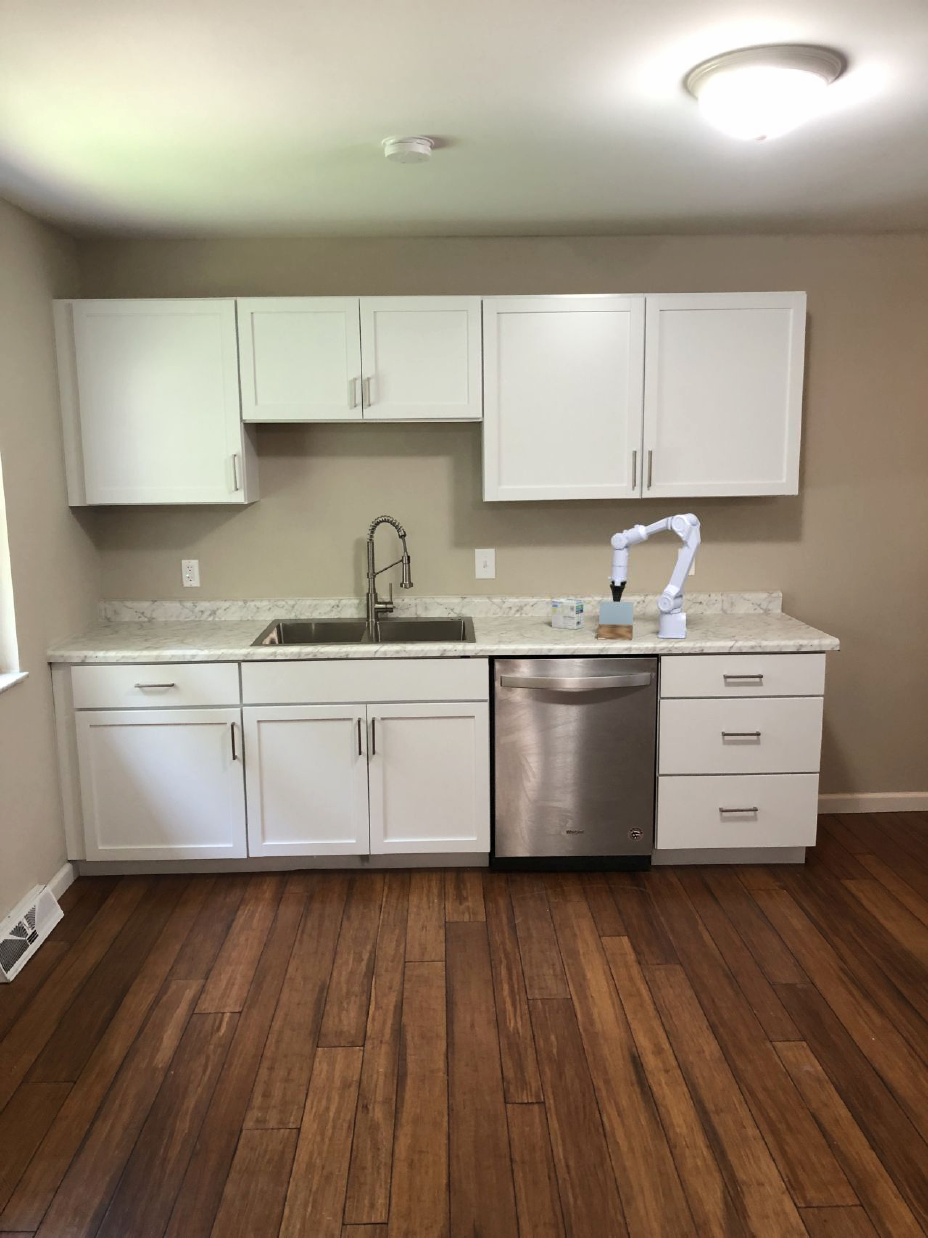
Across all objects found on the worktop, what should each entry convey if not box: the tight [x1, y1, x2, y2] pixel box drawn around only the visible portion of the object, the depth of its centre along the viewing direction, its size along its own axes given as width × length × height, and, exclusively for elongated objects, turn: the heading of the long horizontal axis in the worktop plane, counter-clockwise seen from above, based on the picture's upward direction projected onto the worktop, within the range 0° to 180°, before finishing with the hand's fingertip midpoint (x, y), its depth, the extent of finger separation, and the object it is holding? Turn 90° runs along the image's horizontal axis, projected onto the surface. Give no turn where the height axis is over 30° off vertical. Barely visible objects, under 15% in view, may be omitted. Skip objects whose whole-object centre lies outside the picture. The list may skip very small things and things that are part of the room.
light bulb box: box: [551, 597, 585, 630], centre depth 356 cm, size 11×7×11 cm, turn 56°
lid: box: [598, 600, 634, 625], centre depth 338 cm, size 12×8×1 cm
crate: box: [596, 623, 634, 641], centre depth 334 cm, size 12×8×4 cm, turn 78°
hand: (616, 602), depth 346 cm, fingers open, 7 cm apart
